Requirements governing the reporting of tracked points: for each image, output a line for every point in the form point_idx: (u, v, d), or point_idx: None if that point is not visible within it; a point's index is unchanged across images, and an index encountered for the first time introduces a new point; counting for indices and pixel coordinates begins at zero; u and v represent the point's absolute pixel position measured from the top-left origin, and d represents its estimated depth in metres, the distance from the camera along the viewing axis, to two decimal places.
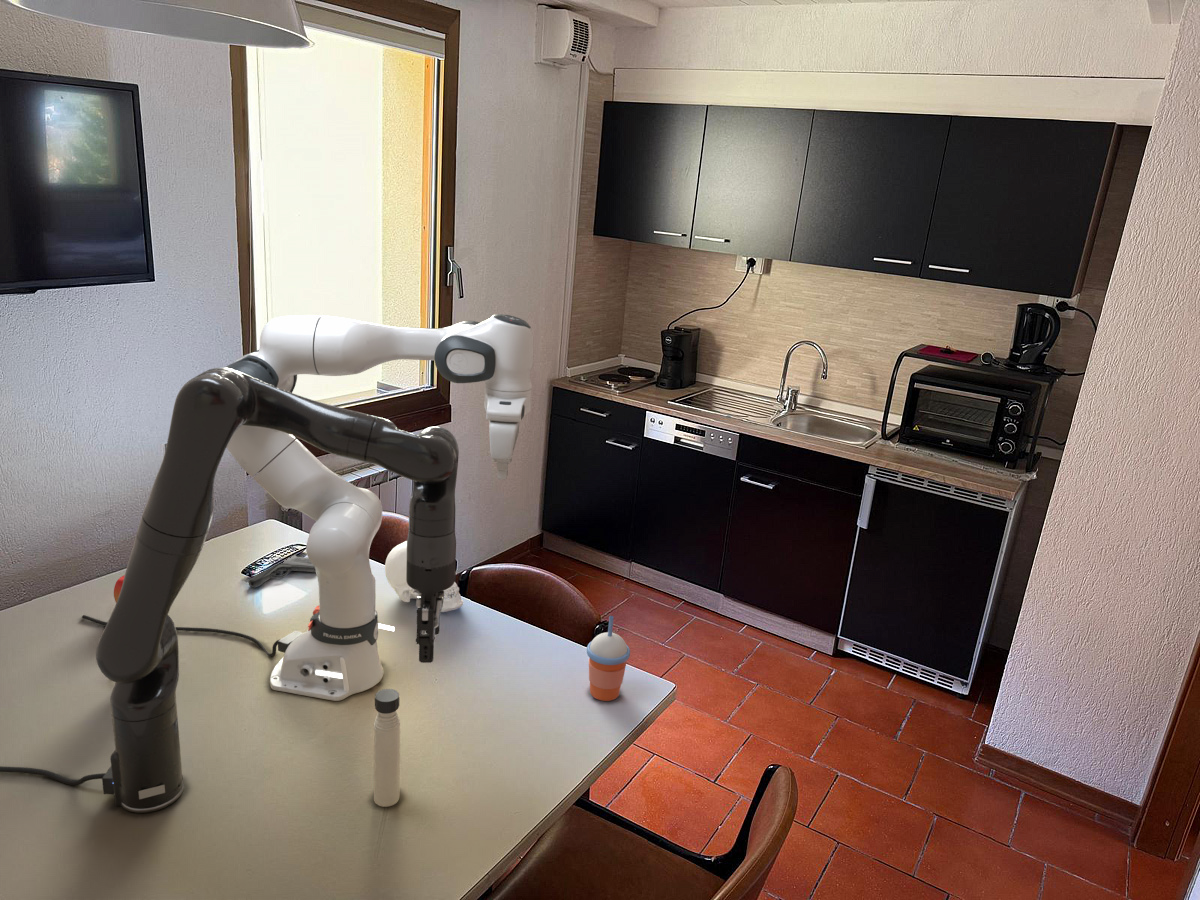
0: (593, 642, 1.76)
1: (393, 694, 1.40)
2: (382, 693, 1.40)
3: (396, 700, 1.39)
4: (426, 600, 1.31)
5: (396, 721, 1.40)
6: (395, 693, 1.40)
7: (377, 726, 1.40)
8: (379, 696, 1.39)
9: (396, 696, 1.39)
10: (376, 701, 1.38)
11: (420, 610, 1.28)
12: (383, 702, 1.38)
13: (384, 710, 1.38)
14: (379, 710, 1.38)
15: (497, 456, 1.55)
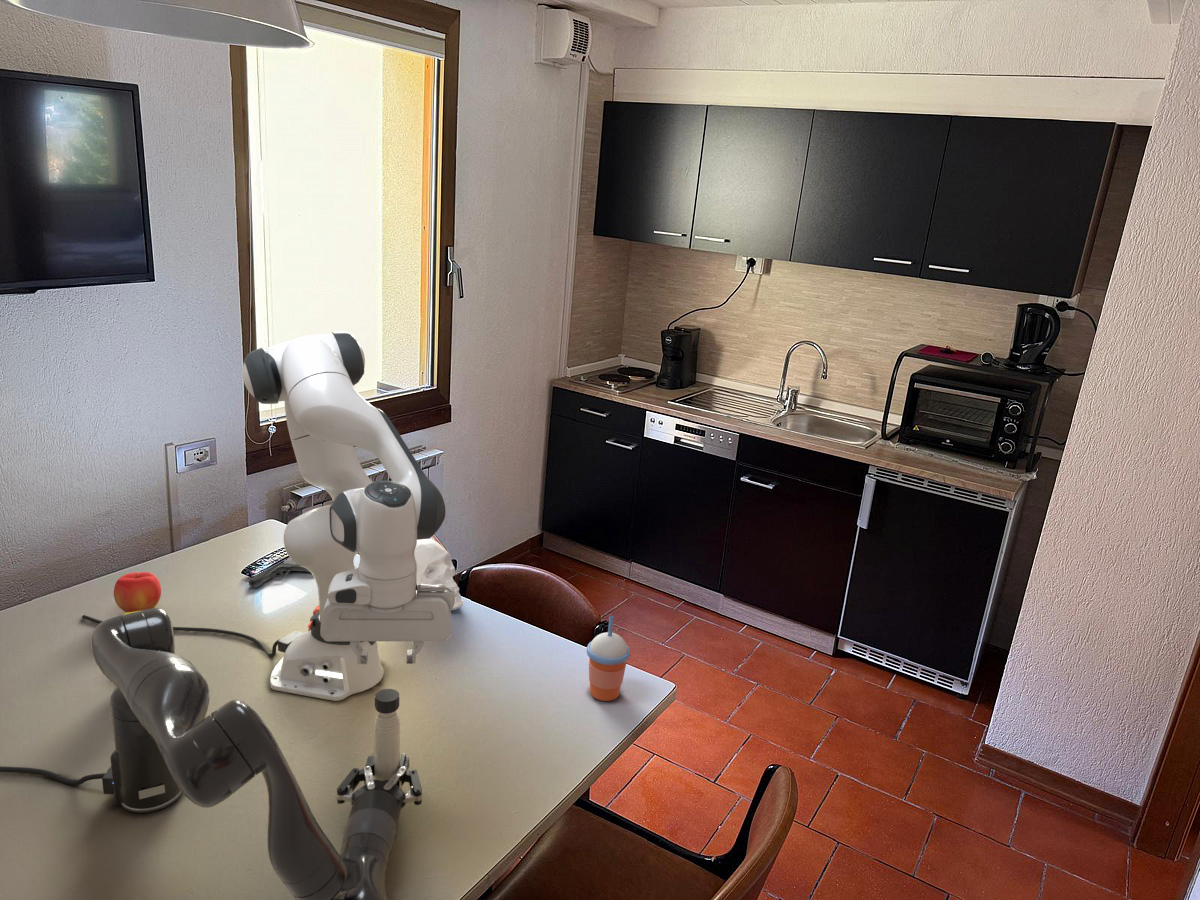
0: (593, 642, 1.76)
1: (393, 694, 1.40)
2: (382, 693, 1.40)
3: (396, 700, 1.39)
4: None
5: (396, 721, 1.40)
6: (395, 693, 1.40)
7: (377, 726, 1.40)
8: (379, 696, 1.39)
9: (396, 696, 1.39)
10: (376, 701, 1.38)
11: (337, 792, 1.36)
12: (383, 702, 1.38)
13: (384, 710, 1.38)
14: (379, 710, 1.38)
15: None
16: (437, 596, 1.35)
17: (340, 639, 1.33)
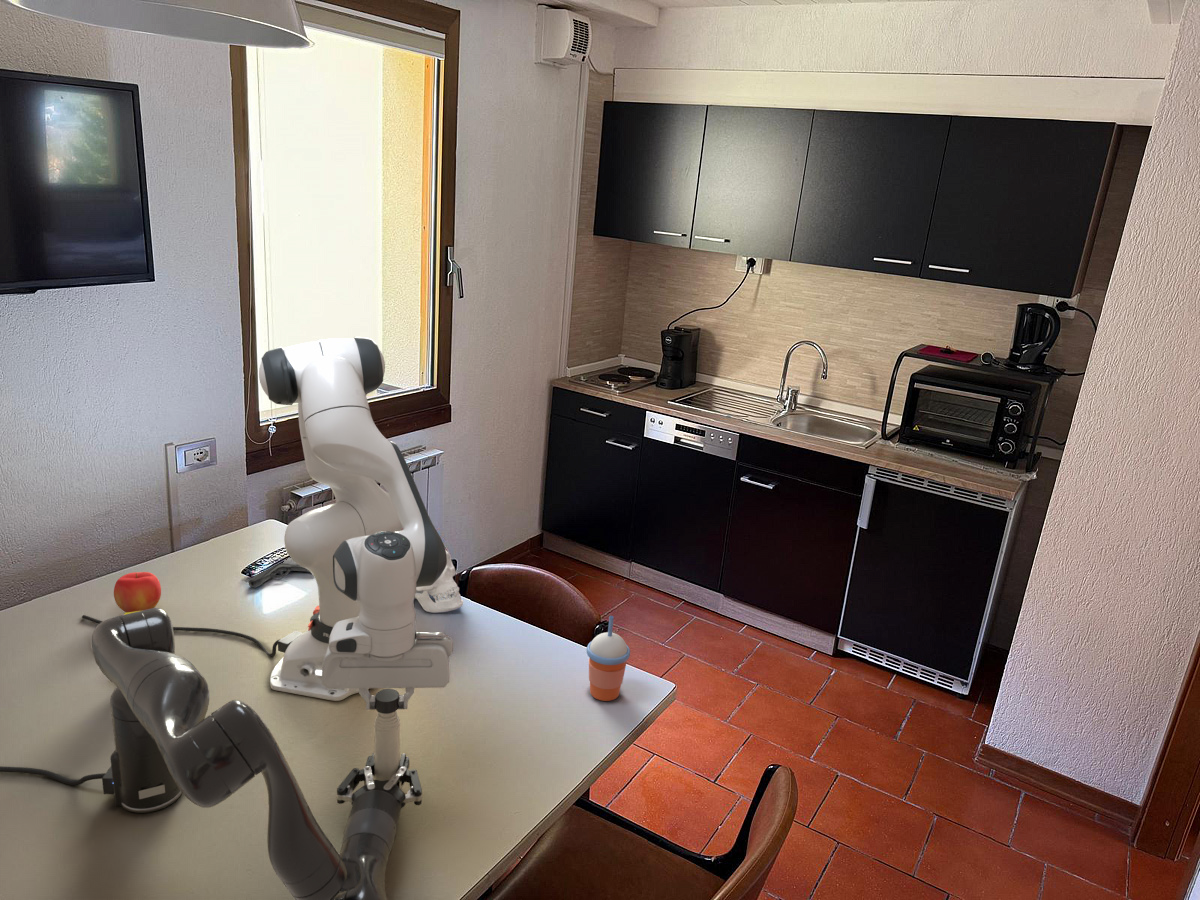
0: (593, 642, 1.76)
1: (393, 694, 1.40)
2: (382, 693, 1.40)
3: (396, 700, 1.39)
4: None
5: (396, 721, 1.40)
6: (395, 693, 1.40)
7: (377, 726, 1.40)
8: (379, 696, 1.39)
9: (396, 696, 1.39)
10: (376, 701, 1.38)
11: (337, 792, 1.36)
12: (383, 702, 1.38)
13: (384, 710, 1.38)
14: (379, 710, 1.38)
15: None
16: (436, 644, 1.37)
17: (341, 686, 1.36)
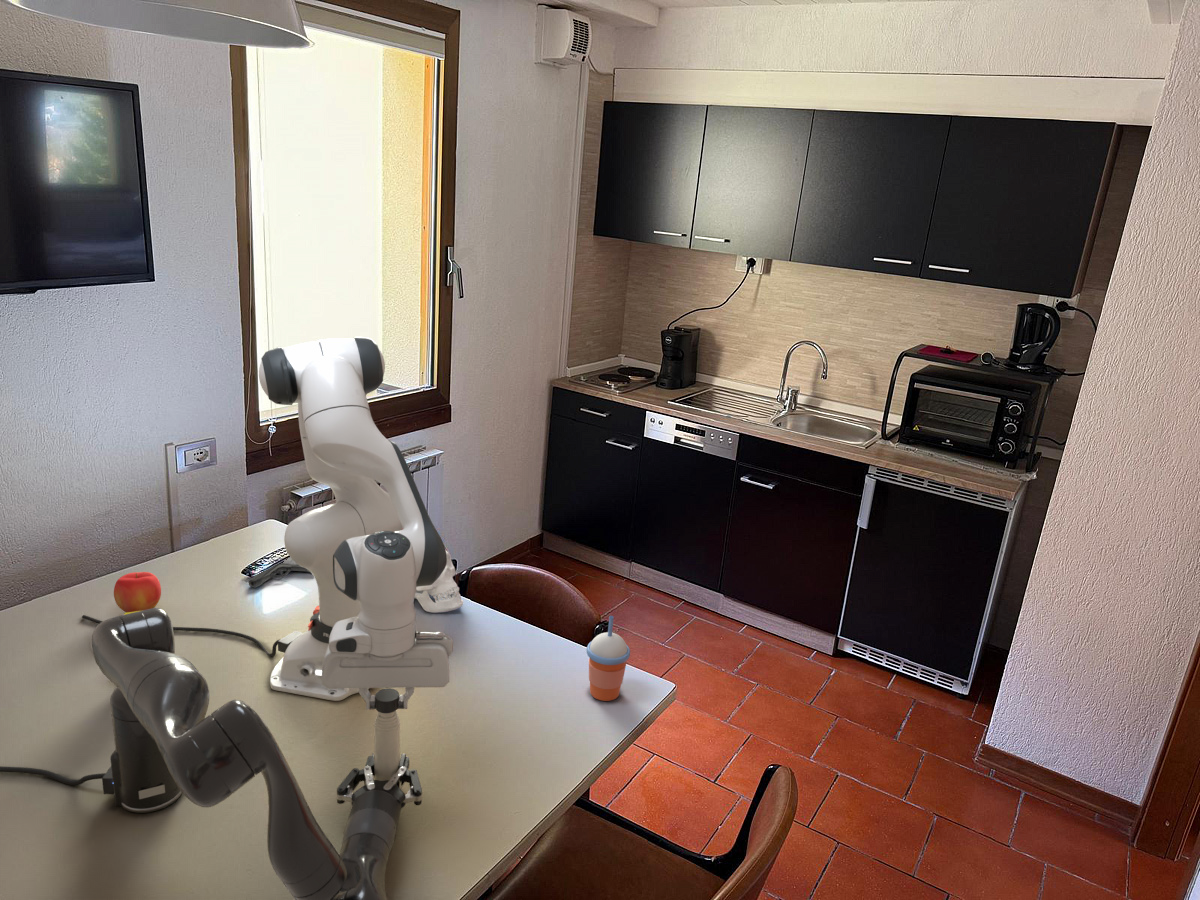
0: (593, 642, 1.76)
1: (386, 691, 1.40)
2: (383, 697, 1.39)
3: None
4: None
5: (396, 721, 1.40)
6: (385, 690, 1.41)
7: (377, 726, 1.39)
8: (388, 699, 1.38)
9: (390, 689, 1.41)
10: (392, 703, 1.38)
11: None
12: (398, 696, 1.39)
13: None
14: (396, 708, 1.39)
15: None
16: (436, 643, 1.37)
17: (341, 686, 1.36)
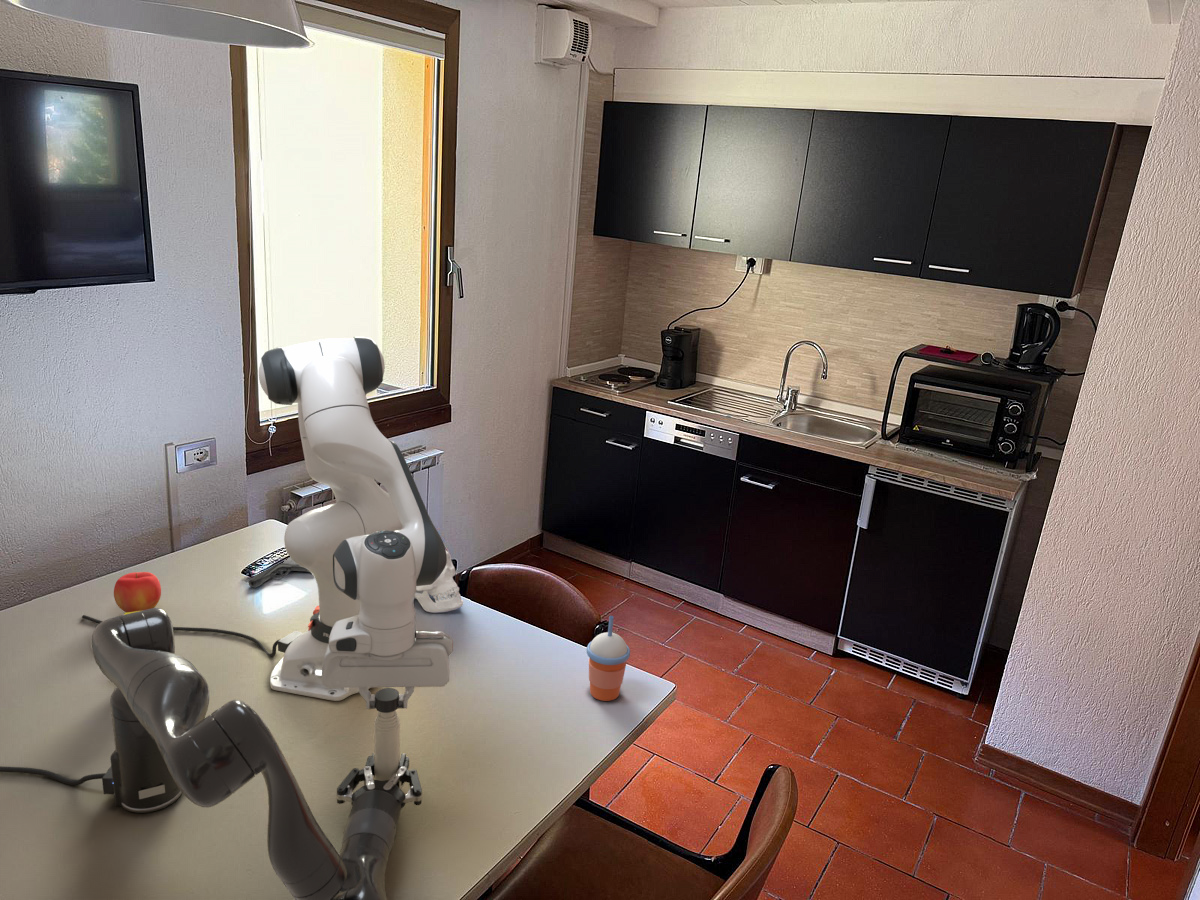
0: (593, 642, 1.76)
1: (380, 694, 1.39)
2: (391, 696, 1.39)
3: None
4: None
5: (396, 721, 1.40)
6: (378, 695, 1.39)
7: (377, 726, 1.39)
8: (394, 693, 1.40)
9: (378, 692, 1.40)
10: None
11: None
12: (391, 688, 1.41)
13: None
14: None
15: None
16: (436, 643, 1.37)
17: (341, 685, 1.36)
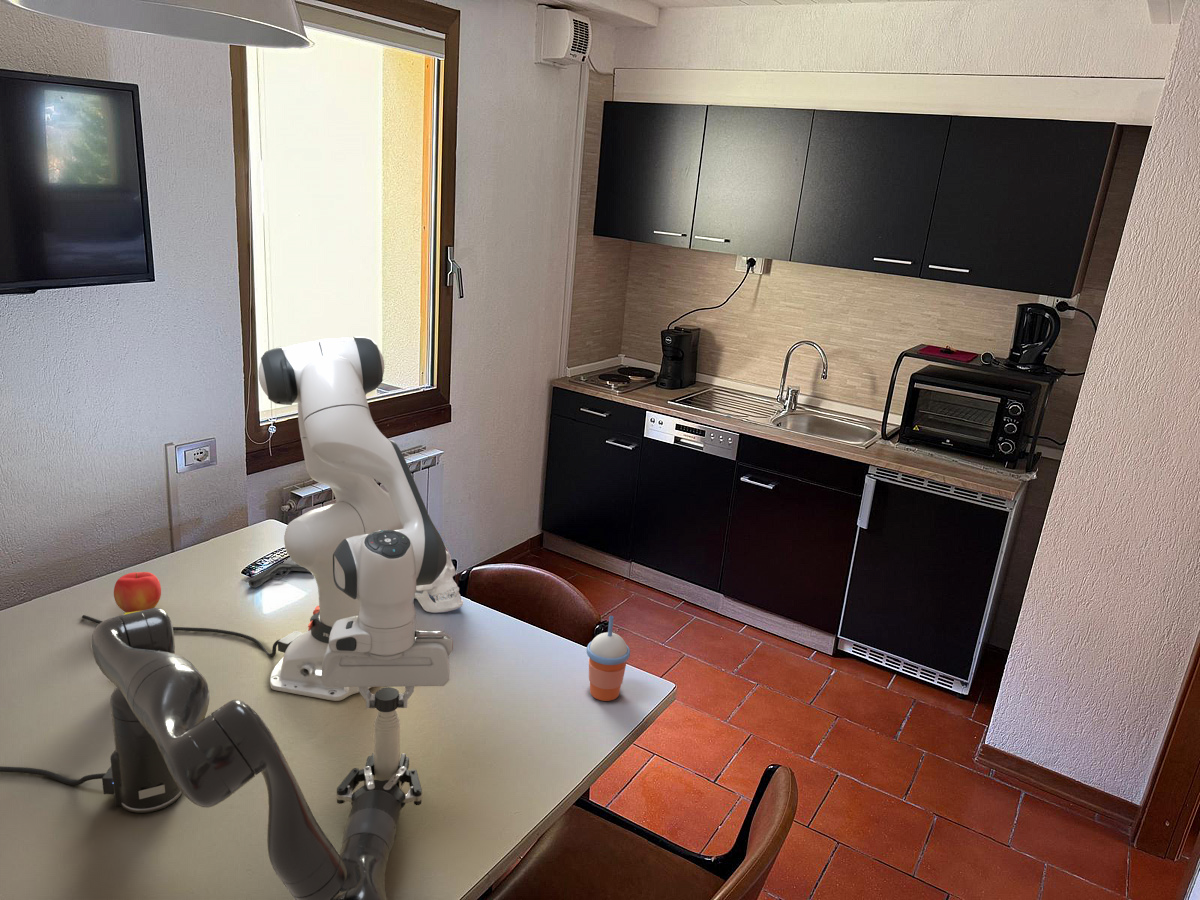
0: (593, 642, 1.76)
1: (387, 697, 1.38)
2: (391, 691, 1.40)
3: (378, 700, 1.38)
4: None
5: (396, 721, 1.40)
6: (388, 698, 1.38)
7: (377, 726, 1.39)
8: (386, 689, 1.40)
9: (382, 699, 1.38)
10: None
11: None
12: (376, 692, 1.40)
13: None
14: None
15: None
16: (436, 642, 1.37)
17: (340, 685, 1.36)
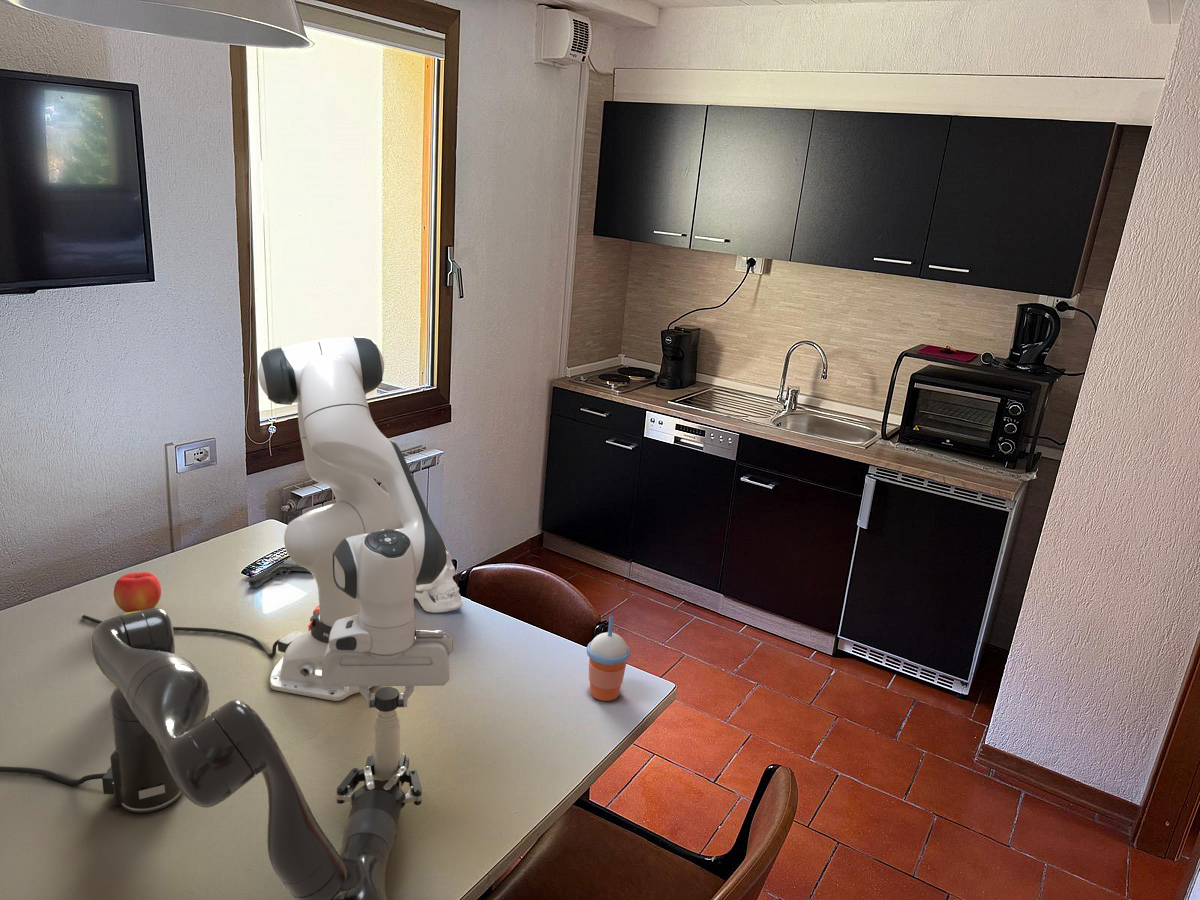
0: (593, 642, 1.76)
1: (393, 693, 1.40)
2: (382, 691, 1.40)
3: (395, 699, 1.38)
4: None
5: (396, 721, 1.40)
6: (395, 692, 1.40)
7: (377, 726, 1.39)
8: (379, 694, 1.39)
9: (395, 695, 1.39)
10: (375, 698, 1.38)
11: None
12: (382, 700, 1.38)
13: (383, 708, 1.38)
14: (378, 708, 1.38)
15: None
16: (436, 642, 1.37)
17: (340, 684, 1.36)
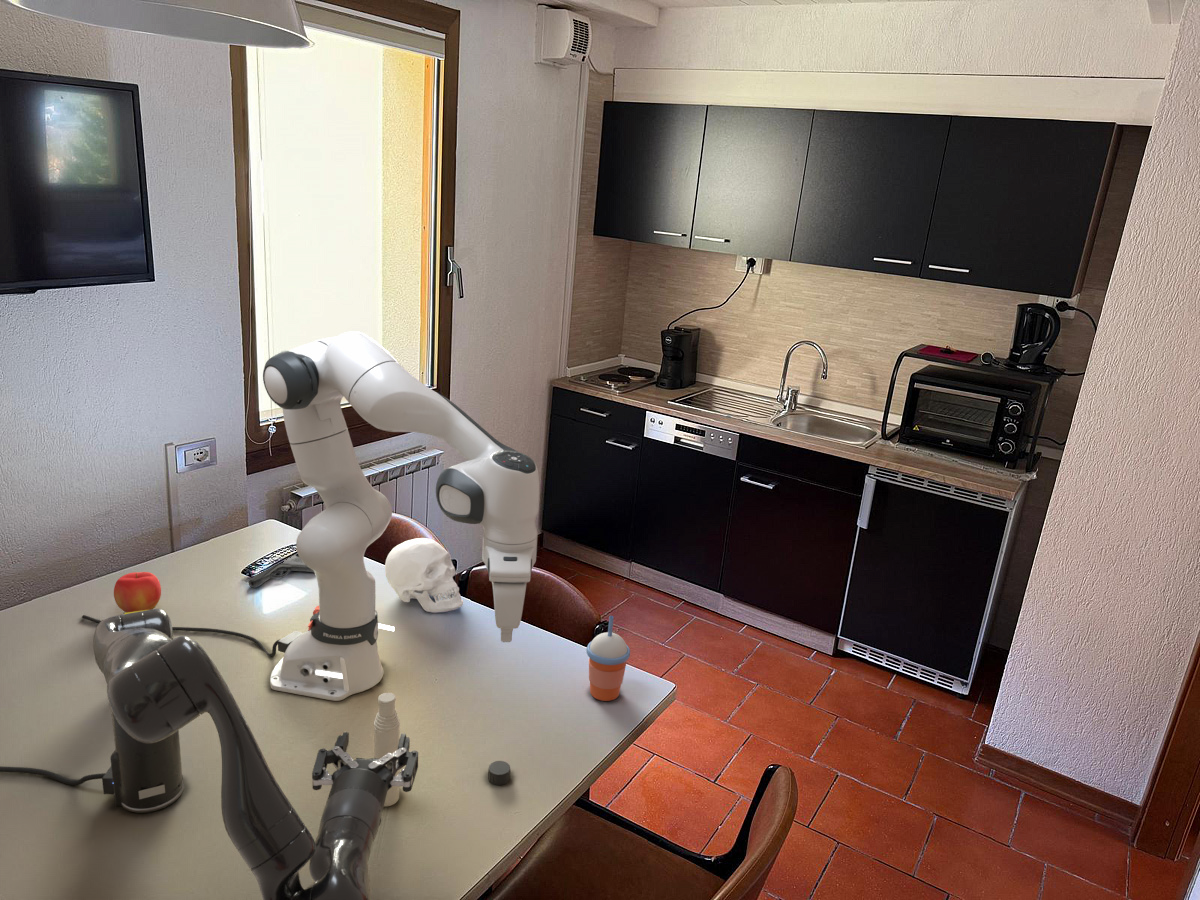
0: (593, 642, 1.76)
1: (493, 767, 1.52)
2: (503, 769, 1.51)
3: None
4: (334, 781, 1.19)
5: (396, 721, 1.40)
6: (492, 768, 1.52)
7: (377, 726, 1.40)
8: (506, 767, 1.52)
9: (491, 765, 1.52)
10: None
11: (312, 777, 1.19)
12: (503, 761, 1.54)
13: None
14: None
15: (504, 623, 1.32)
16: None
17: None
